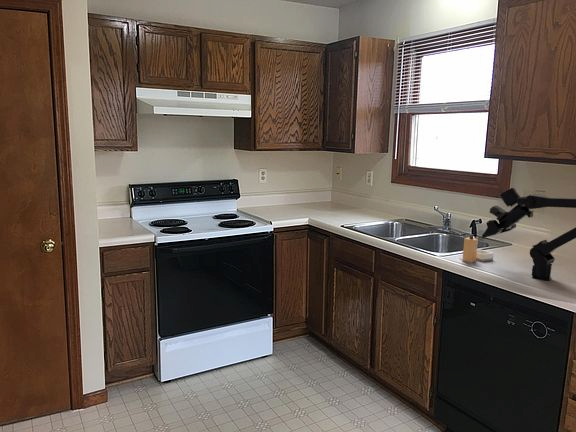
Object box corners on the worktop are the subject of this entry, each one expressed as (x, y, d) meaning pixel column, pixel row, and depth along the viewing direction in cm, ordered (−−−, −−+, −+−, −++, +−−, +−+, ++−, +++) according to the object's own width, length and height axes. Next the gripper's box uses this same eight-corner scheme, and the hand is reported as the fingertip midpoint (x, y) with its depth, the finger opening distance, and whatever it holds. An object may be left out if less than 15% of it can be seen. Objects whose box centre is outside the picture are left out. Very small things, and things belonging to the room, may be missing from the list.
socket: (492, 260, 226) (493, 252, 225) (482, 261, 222) (483, 254, 222) (480, 256, 232) (481, 249, 231) (469, 257, 229) (470, 250, 228)
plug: (475, 261, 223) (478, 234, 221) (471, 262, 220) (474, 236, 218) (466, 258, 227) (469, 233, 224) (462, 260, 224) (464, 234, 221)
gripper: (512, 198, 215) (485, 219, 225) (493, 202, 203) (466, 223, 213) (528, 218, 211) (500, 238, 221) (509, 223, 199) (481, 244, 209)
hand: (487, 235), depth 216 cm, fingers open, 9 cm apart
